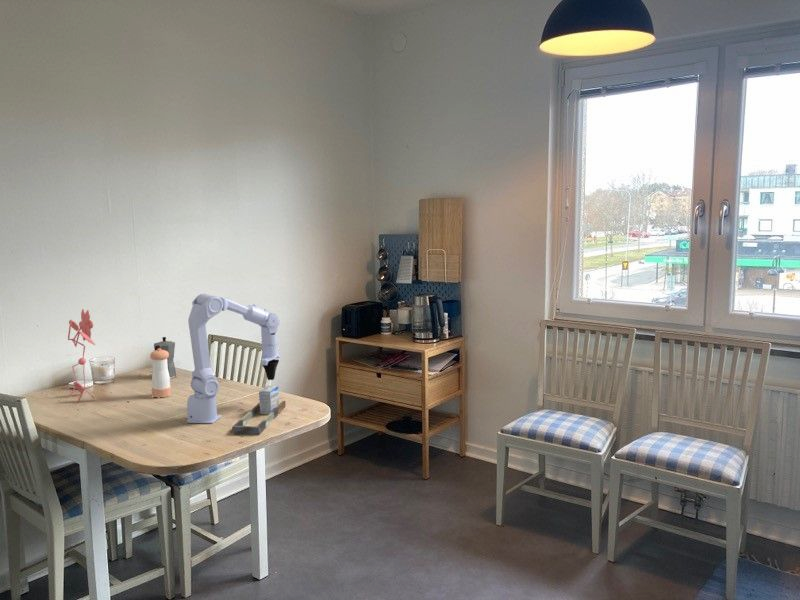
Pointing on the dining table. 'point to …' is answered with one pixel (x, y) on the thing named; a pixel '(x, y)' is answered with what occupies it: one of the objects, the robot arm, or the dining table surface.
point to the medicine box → (268, 399)
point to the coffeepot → (169, 347)
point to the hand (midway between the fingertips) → (270, 379)
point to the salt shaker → (160, 374)
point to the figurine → (86, 333)
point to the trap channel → (253, 430)
